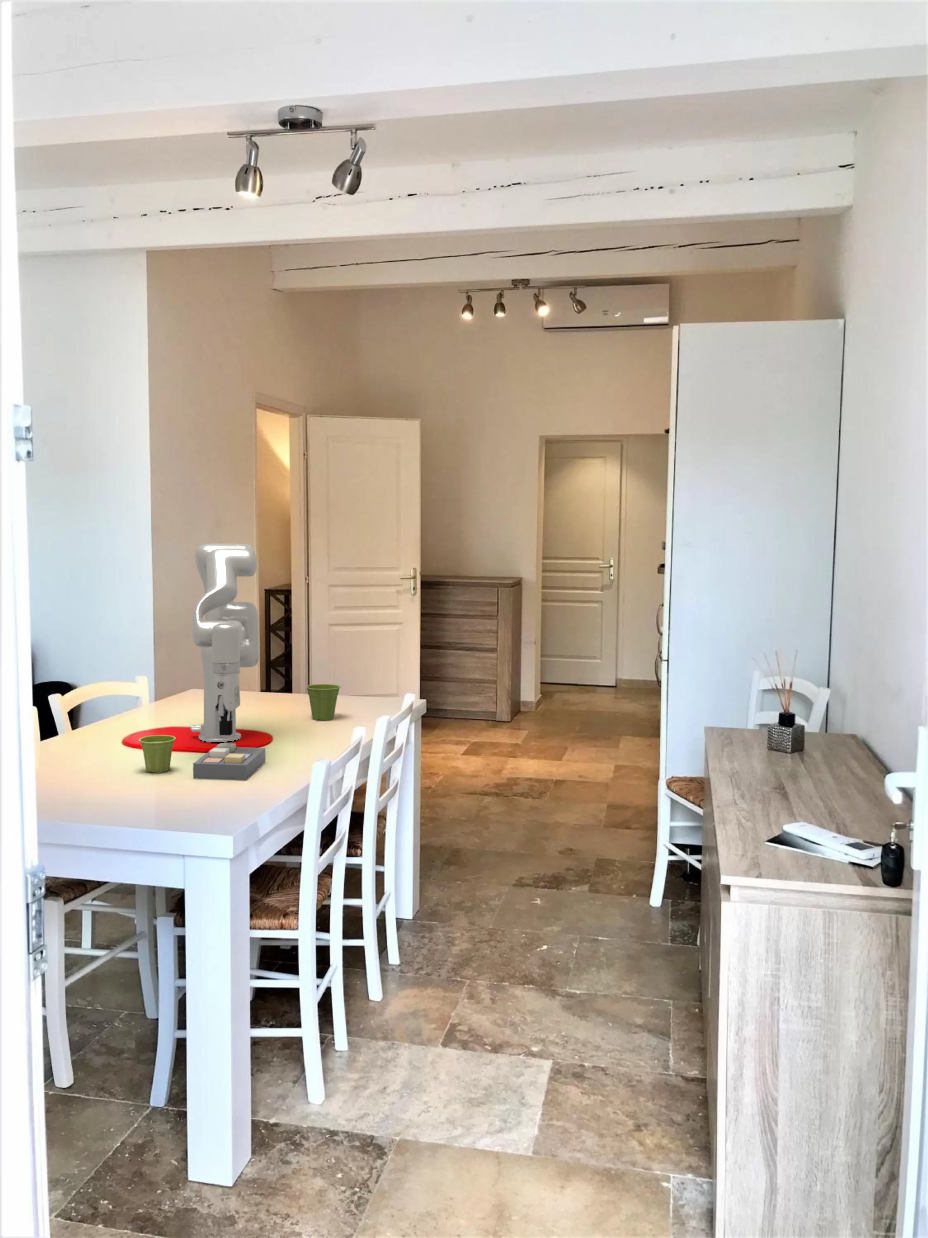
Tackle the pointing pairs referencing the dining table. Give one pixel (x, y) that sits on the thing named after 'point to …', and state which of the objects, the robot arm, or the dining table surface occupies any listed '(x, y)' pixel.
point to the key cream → (219, 752)
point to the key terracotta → (213, 760)
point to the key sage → (227, 746)
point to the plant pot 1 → (157, 752)
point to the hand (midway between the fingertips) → (226, 734)
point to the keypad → (230, 765)
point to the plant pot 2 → (323, 700)
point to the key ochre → (235, 758)
